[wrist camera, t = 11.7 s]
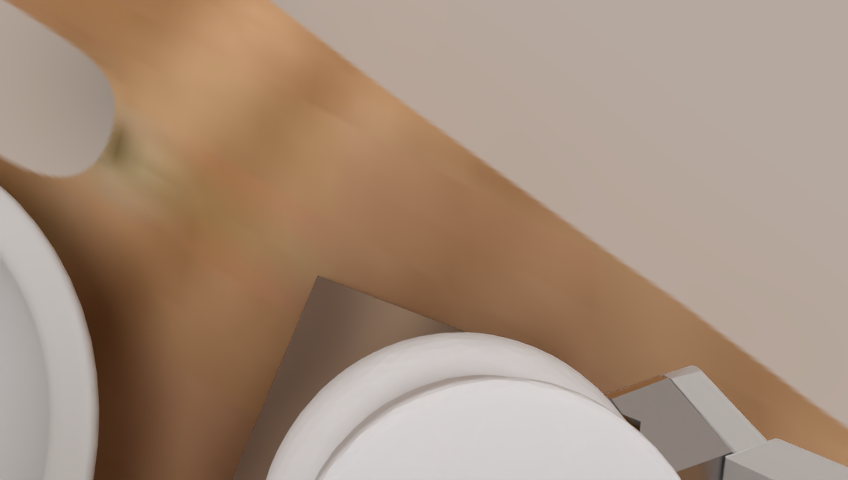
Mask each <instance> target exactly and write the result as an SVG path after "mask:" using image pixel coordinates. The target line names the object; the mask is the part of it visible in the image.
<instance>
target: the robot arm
mask: <svg viewBox="0 0 848 480" xmlns="http://www.w3.org/2000/svg"><path fill="white" fill-rule="evenodd" d="M605 396H606V397H607V398H608V399H609V400H610V402H611V403H612V404H613V405H614V406H615V407H616V408H617V410H618V411H619V412H620V414H621V415H622V416H623V417H624V419H625V420H626V421H627V422H628V423H629V424H631V425H632V426H633V427H634V428H636V429H637V430H638V431H639V432H641V433H642V434H643V435H644V436H645V437H646V438H647V439H648V440H649V441H650V442H651V443H652V444H653V445H654V446H655V447H656V448H657V449H658V450H659V452H660V453H661V454H662V455H663V456H664V458H665V459H666V460H667V461H668V462H669V464H670V465H671V466H672V467H673V469H674V470H675V471H676V473H677V474H678V476H679V477H680V479H681V480H848V467H846V466H844V465H841V464H839V463H836V462H834V461H832V460H829V459H827V458H824V457H822V456H819V455H817V454H815V453H812V452H810V451H807V450H805V449H802V448H800V447H798V446H795V445H793V444H790V443H788V442H785V441H783V440H781V439H778V438H775V439H771V440H768V441H767V440H766V439H765V438H764V436H763V435H762V434H761V433H760V432H759V431H758V430H757V429H756V428H755V427H754V426H753V425H752V424H751V423H750V422H749V421H748V419H747V418H746V417H745V416H744V415H743V414H742V413H741V412H740V411H739V410H738V409H737V408H736V407H735V406H734V405H733V404H732V402H731V401H730V400H729V399H728V398H727V397H726V396H725V395H724V394H723V393H722V392H721V391H720V390H719V389H718V388H717V387H716V385H715V384H714V383H713V382H712V381H711V380H710V379H709V378H708V377H707V376H706V375H705V374H704V373H703V372H702V371H701V369H700V368H698V367H696V366H694V365H690V366H687V367H684V368H681V369H678V370H675V371H672V372H669V373H666V374H664V375H662V376H659V375H658V376H655V377H653V378H650V379H647V380H644V381H642V382H639V383H636V384H633V385H630V386H628V387H625V388H622V389H619V390H616V391H614V392H611V393H608V394H605Z"/></svg>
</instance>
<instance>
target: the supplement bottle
mask: <svg viewBox="0 0 848 480" xmlns="http://www.w3.org/2000/svg"><path fill="white" fill-rule="evenodd" d="M266 480H681V479H680V477H679V476H678V474H677V473H676V471H675V470H674V469H673V467H672V466H671V465H670V464H669V462H668V461H667V460H666V459H665V458H664V456H663V455H662V454H661V453H660V452H659V450H658V449H657V448H656V447H655V446H654V445H653V444H652V443H651V442H650V441H649V440H648V439H647V438H646V437H645V436H644V435H643V434H642V433H641V432H639V431H638V430H637V429H636V428H634V427H633V426H632V425H631V424H629V423H628V422H627V421H626V420H625V419H624V417H623V416H622V415H621V414H620V412H619V411H618V410H617V408H616V407H615V406H614V405H613V404H612V403H611V402H610V400H609V399H608V398H607V397H606V396H605V395H604V394H603V393H602V392H601V391H600V390H599V389H598V388H597V387H596V386H595V385H593V384H592V383H591V382H590V381H589V380H587V379H586V378H585V377H584V376H583V375H581V374H580V373H579V372H577V371H576V370H575V369H573V368H572V367H570V366H569V365H568V364H566V363H564V362H563V361H561V360H559V359H558V358H556V357H554V356H553V355H551V354H548V353H546V352H544V351H542V350H540V349H538V348H536V347H533V346H530V345H527V344H525V343H522V342H519V341H516V340H512V339H509V338H505V337H500V336H496V335H491V334H483V333H470V332H457V333H438V334H432V335H425V336H419V337H415V338H411V339H407V340H403V341H400V342H398V343H395V344H392V345H389V346H387V347H384V348H382V349H380V350H378V351H376V352H373V353H372V354H370V355H368V356H366V357H364V358H362V359H360V360H359V361H357V362H356V363H354V364H352V365H351V366H349V367H348V368H346V369H345V370H344V371H342V372H341V373H340V374H338V375H337V376H336V377H335V378H334V379H332V380H331V381H330V382H329V383H328V384H327V385H325V386H324V387H323V388H322V389H321V390H320V391H319V392H318V393H317V395H316V396H315V397H314V398H313V399H312V400H311V401H310V403H309V404H308V405H307V406H306V407H305V408H304V410H303V411H302V412H301V413H300V414H299V416H298V417H297V419H296V420H295V422H294V423H293V425H292V426H291V428H290V429H289V431H288V432H287V434H286V436H285V438H284V439H283V441H282V443H281V445H280V447H279V448H278V450H277V452H276V455H275V457H274V459H273V462H272V464H271V466H270V469H269V472H268V475H267V478H266Z"/></svg>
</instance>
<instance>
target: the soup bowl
mask: <svg viewBox="0 0 848 480" xmlns="http://www.w3.org/2000/svg"><path fill="white" fill-rule="evenodd" d="M98 435H99V395H98V380H97V370H96V364H95V358H94V352H93V347H92V341H91V337H90V333H89V330H88V326H87V323H86V319H85V316H84V312H83V309H82V306H81V304H80V301H79V299H78V296H77V294H76V291H75V289H74V286H73V284H72V281H71V279H70V277H69V275H68V273H67V271H66V270H65V268H64V266H63V264H62V262H61V260H60V258H59V256H58V255H57V253H56V251H55V249H54V248H53V247H52V245H51V244H50V242H49V241H48V239H47V238H46V236H45V235H44V233H43V232H42V231H41V229H40V228H39V226H38V225H37V223H36V222H35V221H34V220H33V219H32V218H31V217H30V215H29V214H28V213H27V212H26V211H25V210H24V208H23V207H22V206H21V205H20V204H19V203H18V202H17V200H16V199H14V198H13V197H12V196H11V195H10V194H9V193H8V192H7V191H6V190H5V189H4V188H2V187H1V186H0V480H94V472H95V465H96V457H97V449H98Z"/></svg>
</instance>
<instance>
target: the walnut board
mask: <svg viewBox="0 0 848 480" xmlns="http://www.w3.org/2000/svg"><path fill="white" fill-rule="evenodd" d="M457 332H464V331H461V330H459V329H456V328H454V327H451V326H448V325H446V324H443V323H440V322H438V321H435V320H433V319H430V318H427V317H425V316H422V315H419V314H417V313H414V312H412V311H409V310H406V309H404V308H401V307H399V306H396V305H393V304H391V303H388V302H385V301H383V300H380V299H378V298H375V297H372V296H370V295H367V294H364V293H362V292H359V291H357V290H354V289H351V288H349V287H346V286H343V285H341V284H338V283H336V282H333V281H330V280H328V279H325V278H323V277H320V276H318V277H317V279H316V282H315V284H314V286H313V289H312V291H311V294H310V296H309V298H308V301H307V303H306V305H305V308H304V310H303V313H302V315H301V317H300V320H299V322H298V324H297V327H296V329H295V332H294V334H293V336H292V339H291V341H290V343H289V346H288V348H287V351H286V353H285V355H284V358H283V360H282V362H281V365H280V367H279V370H278V372H277V374H276V377H275V379H274V381H273V384H272V386H271V389H270V391H269V393H268V396H267V398H266V400H265V403H264V405H263V408H262V410H261V412H260V415H259V417H258V419H257V422H256V424H255V427H254V429H253V431H252V434H251V436H250V438H249V441H248V443H247V446H246V448H245V450H244V453H243V455H242V457H241V460H240V462H239V465H238V467H237V469H236V472H235V474H234V476H233V479H232V480H266V478H267V475H268V472H269V469H270V466H271V464H272V462H273V459H274V457H275V455H276V452H277V450H278V448H279V447H280V445H281V443H282V441H283V439H284V438H285V436H286V434H287V432H288V431H289V429H290V428H291V426H292V425H293V423H294V422H295V420H296V419H297V417H298V416H299V414H300V413H301V412H302V411H303V410H304V408H305V407H306V406H307V405H308V404H309V403H310V401H311V400H312V399H313V398H314V397H315V396H316V395H317V393H318V392H319V391H320V390H321V389H322V388H323V387H324V386H325V385H327V384H328V383H329V382H330V381H331V380H332V379H334V378H335V377H336V376H337V375H338V374H340V373H341V372H342V371H344V370H345V369H346V368H348V367H349V366H351V365H352V364H354V363H356V362H357V361H359V360H360V359H362V358H364V357H366V356H368V355H370V354H372V353H373V352H376V351H378V350H380V349H382V348H384V347H387V346H389V345H392V344H395V343H398V342H400V341H403V340H407V339H411V338H415V337H419V336H425V335H432V334H438V333H457Z"/></svg>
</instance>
